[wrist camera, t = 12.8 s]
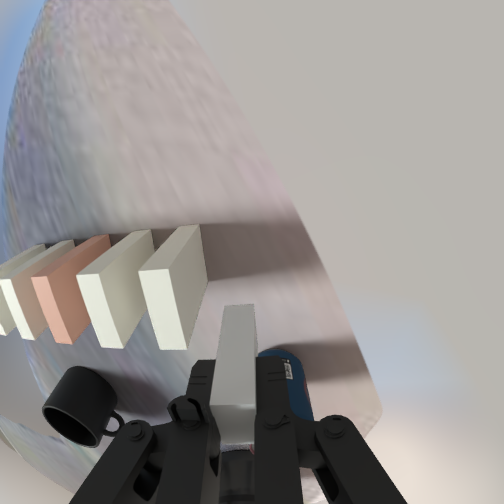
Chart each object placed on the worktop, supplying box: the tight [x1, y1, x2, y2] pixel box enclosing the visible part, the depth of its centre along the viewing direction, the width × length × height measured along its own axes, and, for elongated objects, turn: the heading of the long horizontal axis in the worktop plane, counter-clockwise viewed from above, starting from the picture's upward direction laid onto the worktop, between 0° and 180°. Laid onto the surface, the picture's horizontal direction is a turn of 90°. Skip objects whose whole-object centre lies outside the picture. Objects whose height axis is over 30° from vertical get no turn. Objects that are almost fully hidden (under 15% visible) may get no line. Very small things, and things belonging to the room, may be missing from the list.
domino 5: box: [138, 224, 208, 350], centre depth 22 cm, size 2×6×11 cm, turn 5°
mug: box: [42, 367, 125, 448], centre depth 31 cm, size 9×12×9 cm
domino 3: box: [31, 234, 111, 344], centre depth 23 cm, size 2×6×11 cm, turn 5°
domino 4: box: [76, 229, 155, 349], centre depth 22 cm, size 2×6×11 cm, turn 5°
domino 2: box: [0, 240, 75, 340], centre depth 23 cm, size 2×6×11 cm, turn 5°
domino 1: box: [0, 244, 46, 336], centre depth 23 cm, size 2×6×11 cm, turn 5°
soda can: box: [249, 349, 314, 454], centre depth 27 cm, size 7×7×12 cm
